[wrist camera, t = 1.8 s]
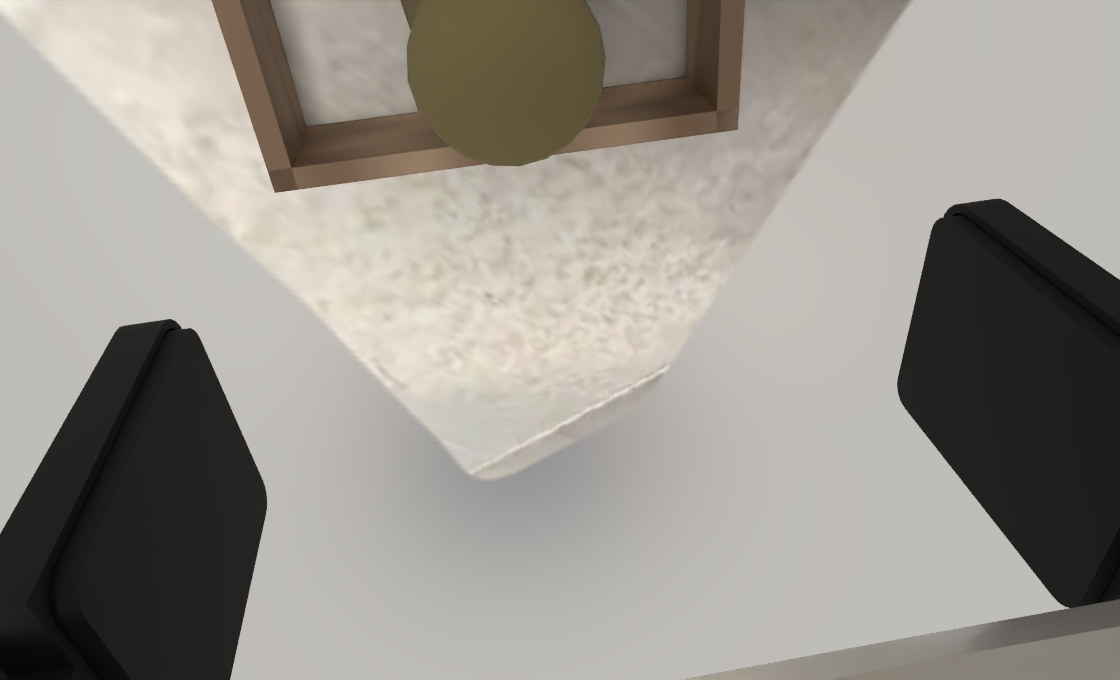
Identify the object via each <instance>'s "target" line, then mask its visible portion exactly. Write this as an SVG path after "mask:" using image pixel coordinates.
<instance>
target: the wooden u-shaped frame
mask: <svg viewBox="0 0 1120 680" xmlns="http://www.w3.org/2000/svg"><path fill="white" fill-rule="evenodd" d="M212 3H213V6H214V9H215V12H216V15H217V18H218V21H219V24H220V27H221V30H222V33H223V36H224V39H225V42H226V45H227V49H228V52H229V55H230V58H231V61H232V64H233V67H234V70H235V73H236V76H237V79H238V82H239V85H240V88H241V91H242V94H243V97H244V100H245V103H246V106H247V109H248V112H249V115H250V118H251V121H252V125H253V128H254V131H255V134H256V137H257V140H258V143H259V146H260V149H261V152H262V155H263V158H264V161H265V164H266V167H267V170H268V173H269V176H270V179H271V182H272V185H273V188H274V191H275V193H276V192H284V191H291V190H298V189H306V188H313V187H320V186H328V185H335V184H342V183H350V182H357V181H364V180H372V179H379V178H386V177H394V176H401V175H408V174H416V173H423V172H430V171H438V170H445V169H452V168H460V167H467V166H474V165H482V164H486V163H483V162H480V161H476V160H473V159H470V158H467V157H464V156H463V155H462V154H460V153H459V152H457V151H456V150H455V149H453V148H452V147H450V146H449V145H448V144H446V143H445V142H444V141H442V140H441V139H440V138H439V137H438V136H437V135H436V133H435V132H434V131H433V129H432V128H431V127H430V125H429V124H428V123H427V121H426V120H425V119H424V117H423V116H422V115H421V113H420V112H416V113H408V114H401V115H393V116H386V117H378V118H370V119H363V120H355V121H347V122H340V123H332V124H324V125H317V126H309V127H306V125H305V122H304V118H303V115H302V111H301V108H300V104H299V101H298V98H297V94H296V91H295V87H294V84H293V80H292V77H291V73H290V70H289V66H288V63H287V59H286V56H285V52H284V49H283V45H282V42H281V38H280V35H279V31H278V28H277V24H276V21H275V17H274V14H273V10H272V7H271V3H270V0H212ZM744 5H745V0H687V57H686V77H683V78H676V79H668V80H660V81H653V82H645V83H638V84H630V85H622V86H615V87H607V88H602V92H601V96H600V98H599V100H598V102H597V105H596V107H595V109H594V112H593V114H592V116H591V119H590V121H589V122H588V123H587V124H586V126H585V127H584V128H583V129H582V130H581V132H580V133H579V134H578V135H577V136H576V137H575V139H574V140H573V141H572V142H571V143H570V144H568V145H567V146H565V147H564V148H562V149H561V150H559V151H558V152H556V153H554V154H553V155H555V154H563V153H570V152H577V151H585V150H592V149H599V148H607V147H614V146H621V145H629V144H636V143H643V142H651V141H658V140H665V139H673V138H680V137H687V136H695V135H702V134H709V133H717V132H724V131H731V130H738V114H739V96H740V78H741V59H742V41H743V23H744Z"/></svg>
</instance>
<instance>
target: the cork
mask: <svg viewBox="0 0 1120 680" xmlns="http://www.w3.org/2000/svg"><path fill="white" fill-rule="evenodd" d="M401 3H402V6H403V9H404V12H405V15H406V18H407V21H408V24H409V27H410V29H411V33H410V36H409V40H408V44H407V67H408V83H409V85H410V88H411V91H412V94H413V97H414V100H415V102H416V105H417V108H418V111H419V112H420V113H421V115H422V116H423V117H424V119H425V120H426V121H427V123H428V124H429V125H430V127H431V128H432V129H433V131H434V132H435V133H436V135H437V136H438V137H439V138H440V139H441V140H442V141H444V142H445V143H446V144H448V145H449V146H450V147H452V148H453V149H455V150H456V151H457V152H459V153H460V154H462V155H463V156H464V157H467V158H470V159H473V160H476V161H480V162H483V163H486V164H489V165H493V166H522V165H525V164H529V163H532V162H536V161H539V160H543V159H546V158H548V157H550V156H551V155H553V154H554V153H556V152H558V151H559V150H561V149H562V148H564V147H565V146H567V145H568V144H570V143H571V142H572V141H573V140H574V139H575V137H576V136H577V135H578V134H579V133H580V132H581V130H582V129H583V128H584V127H585V126H586V124H587V123H588V122H589V121H590V119H591V116H592V114H593V112H594V109H595V107H596V105H597V102H598V100H599V98H600V96H601V92H602V85H603V76H604V67H605V58H606V57H605V52H604V47H603V42H602V37H601V32H600V27H599V24H598V23H597V21H596V19H595V17H594V15H593V14H592V12H591V10H590V8H589V6H588V5H587V3H586V1H585V0H401Z"/></svg>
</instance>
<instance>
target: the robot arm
mask: <svg viewBox="0 0 1120 680" xmlns="http://www.w3.org/2000/svg"><path fill="white" fill-rule="evenodd" d="M897 387H898V394H899V397H900V400H901V402H902V404H903V406H904V407H905V409H906V410H907V411H908V413H909V414H910V415H911V416H912V418H913V419H914V420H915V422H916V423H917V424H918V425H919V427H920V428H921V429H922V430H923V432H924V433H925V434H926V436H927V437H928V438H929V439H930V440H931V442H932V443H933V444H934V446H935V447H936V448H937V450H938V451H939V452H940V453H941V455H942V456H943V457H944V458H945V460H946V461H947V462H948V464H949V465H950V466H951V467H952V469H953V470H954V471H955V472H956V474H957V475H958V476H959V477H960V478H961V480H962V481H963V483H964V484H965V485H966V486H967V488H968V489H969V490H970V492H971V493H972V494H973V495H974V496H975V498H976V499H977V500H978V502H979V503H980V504H981V506H982V507H983V508H984V509H985V510H986V512H987V513H988V514H989V516H990V517H991V518H992V519H993V521H994V522H995V523H996V525H997V526H998V527H999V528H1000V530H1001V531H1002V532H1003V533H1004V535H1005V536H1006V537H1007V539H1008V540H1009V541H1010V542H1011V544H1012V545H1013V546H1014V548H1015V549H1016V550H1017V551H1018V553H1019V554H1020V555H1021V556H1022V558H1023V559H1024V560H1025V562H1026V563H1027V564H1028V565H1029V567H1030V568H1031V569H1032V570H1033V572H1034V573H1035V574H1036V576H1037V577H1038V578H1039V579H1040V580H1041V582H1042V583H1043V584H1044V586H1045V587H1046V588H1047V590H1048V591H1049V592H1050V593H1051V595H1052V596H1053V597H1054V598H1055V599H1056V600H1057V601H1058V602H1059V603H1060V604H1062V605H1064V606H1065V607H1069V608H1070V609H1064V610H1058V611H1053V612H1047V613H1042V614H1037V615H1031V616H1026V617H1020V618H1015V619H1009V620H1003V621H998V622H992V623H987V624H981V625H975V626H970V627H964V628H959V629H954V630H948V631H942V632H937V633H932V634H925V635H920V636H915V637H909V638H904V639H898V640H893V641H887V642H883V643H877V644H871V645H866V646H861V647H855V648H849V649H844V650H839V651H833V652H828V653H823V654H818V655H812V656H806V657H801V658H796V659H790V660H785V661H779V662H774V663H768V664H763V665H758V666H753V667H747V668H742V669H736V670H731V671H726V672H720V673H715V674H710V675H705V676H699V677H694V678H689V679H683V680H1120V280H1119V279H1118V278H1116V277H1115V276H1113V275H1112V274H1110V273H1109V272H1107V271H1106V270H1105V269H1103V268H1102V267H1100V266H1099V265H1097V264H1096V263H1095V262H1093V261H1092V260H1090V259H1089V258H1087V257H1086V256H1084V255H1083V254H1082V253H1080V252H1079V251H1077V250H1076V249H1074V248H1073V247H1072V246H1070V245H1069V244H1067V243H1066V242H1064V241H1063V240H1062V239H1060V238H1059V237H1057V236H1056V235H1054V234H1053V233H1052V232H1050V231H1049V230H1047V229H1046V228H1044V227H1043V226H1041V225H1040V224H1039V223H1037V222H1036V221H1034V220H1033V219H1031V218H1030V217H1029V216H1027V215H1026V214H1024V213H1023V212H1021V211H1020V210H1019V209H1017V208H1015V207H1014V206H1013V205H1011V204H1010V203H1009V202H1007V201H1005V200H1002V199H991V200H984V201H977V202H970V203H964V204H956V205H953V206H952V207H950V208H949V209H948V210H947V212H946V213H945V214H944V217H943V218H940V219H939V220H937V221H936V222H935V224H934V225H933V228H932V231H931V235H930V239H929V244H928V248H927V252H926V257H925V261H924V266H923V270H922V275H921V279H920V283H919V288H918V292H917V297H916V301H915V305H914V310H913V315H912V319H911V323H910V328H909V332H908V336H907V341H906V345H905V349H904V354H903V359H902V363H901V367H900V371H899V376H898V382H897ZM266 510H267V496H266V490H265V485H264V483H263V480H262V478H261V476H260V473H259V471H258V469H257V466H256V464H255V462H254V460H253V457H252V455H251V453H250V450H249V448H248V446H247V444H246V441H245V439H244V437H243V435H242V432H241V430H240V428H239V426H238V423H237V421H236V419H235V417H234V415H233V412H232V410H231V407H230V405H229V403H228V401H227V399H226V396H225V394H224V392H223V389H222V387H221V385H220V383H219V380H218V378H217V376H216V374H215V371H214V369H213V367H212V364H211V362H210V360H209V358H208V355H207V353H206V351H205V349H204V347H203V344H202V342H201V340H200V338H199V336H198V334H197V333H196V332H195V331H194V330H193V329H191V328H189V329H182V328H181V327H180V325H178V323H177V322H176V321H174V320H172V319H168V320H161V321H154V322H147V323H140V324H133V325H127V326H122V327H119V329H118V330H117V331H116V332H115V333H114V335H113V337H112V339H111V340H110V342H109V344H108V346H107V347H106V349H105V351H104V353H103V355H102V356H101V358H100V360H99V362H98V363H97V365H96V367H95V369H94V370H93V372H92V374H91V376H90V378H89V379H88V381H87V383H86V384H85V386H84V388H83V390H82V392H81V393H80V395H79V397H78V398H77V400H76V402H75V404H74V405H73V407H72V409H71V411H70V412H69V414H68V416H67V418H66V419H65V421H64V423H63V425H62V427H61V428H60V430H59V432H58V434H57V435H56V437H55V439H54V441H53V442H52V444H51V446H50V448H49V449H48V451H47V453H46V455H45V457H44V458H43V460H42V462H41V463H40V465H39V467H38V469H37V471H36V472H35V474H34V476H33V478H32V480H31V481H30V483H29V484H28V486H27V488H26V490H25V492H24V493H23V495H22V497H21V498H20V500H19V502H18V504H17V506H16V507H15V509H14V511H13V513H12V514H11V516H10V518H9V520H8V521H7V523H6V525H5V527H4V528H3V530H2V532H1V534H0V680H230V677H231V673H232V668H233V663H234V658H235V654H236V650H237V645H238V640H239V636H240V631H241V626H242V622H243V617H244V612H245V608H246V603H247V599H248V594H249V589H250V585H251V580H252V576H253V571H254V566H255V561H256V557H257V552H258V548H259V543H260V539H261V534H262V530H263V525H264V520H265V516H266Z"/></svg>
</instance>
